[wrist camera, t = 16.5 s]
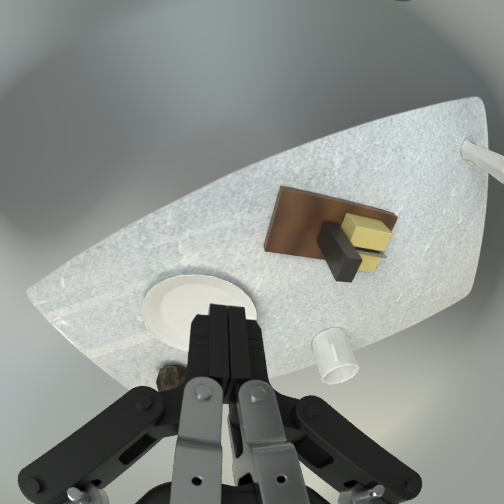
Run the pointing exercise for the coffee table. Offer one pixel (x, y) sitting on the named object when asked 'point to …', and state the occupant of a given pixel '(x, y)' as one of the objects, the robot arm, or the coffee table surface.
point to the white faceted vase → (484, 159)
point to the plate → (188, 305)
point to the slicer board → (311, 220)
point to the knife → (342, 252)
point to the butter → (367, 238)
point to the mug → (334, 356)
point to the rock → (170, 377)
